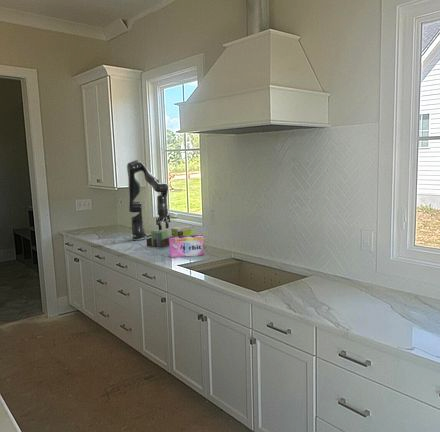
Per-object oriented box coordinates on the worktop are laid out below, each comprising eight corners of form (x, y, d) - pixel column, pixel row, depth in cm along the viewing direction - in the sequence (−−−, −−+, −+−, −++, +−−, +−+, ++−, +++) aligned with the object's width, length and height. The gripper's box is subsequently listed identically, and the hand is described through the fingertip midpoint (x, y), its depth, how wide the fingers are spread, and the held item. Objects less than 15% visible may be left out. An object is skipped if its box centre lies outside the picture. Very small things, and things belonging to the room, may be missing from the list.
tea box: (188, 243, 337) (187, 225, 335) (195, 244, 330) (194, 226, 328) (172, 246, 327) (171, 227, 325) (178, 247, 320) (177, 229, 318)
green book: (166, 245, 326) (165, 230, 324) (168, 245, 325) (167, 230, 324) (161, 246, 320) (160, 231, 319) (163, 246, 320) (162, 231, 318)
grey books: (161, 244, 328) (161, 231, 326) (166, 245, 326) (165, 231, 325) (156, 246, 322) (155, 232, 320) (160, 246, 320) (160, 232, 319)
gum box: (204, 252, 301) (203, 234, 299) (204, 255, 293) (203, 236, 291) (170, 255, 295) (169, 236, 294) (169, 257, 288) (168, 238, 286)
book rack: (155, 245, 332) (154, 236, 331) (170, 246, 327) (170, 237, 326) (146, 247, 323) (146, 238, 322) (162, 248, 318) (162, 239, 317)
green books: (156, 244, 329) (155, 229, 327) (160, 244, 328) (159, 230, 326) (151, 246, 323) (150, 231, 322) (155, 246, 322) (154, 231, 320)
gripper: (160, 209, 311) (162, 230, 313) (172, 207, 324) (173, 227, 326) (152, 209, 313) (153, 230, 315) (164, 207, 326) (165, 227, 329)
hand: (163, 229), depth 321 cm, fingers open, 8 cm apart
